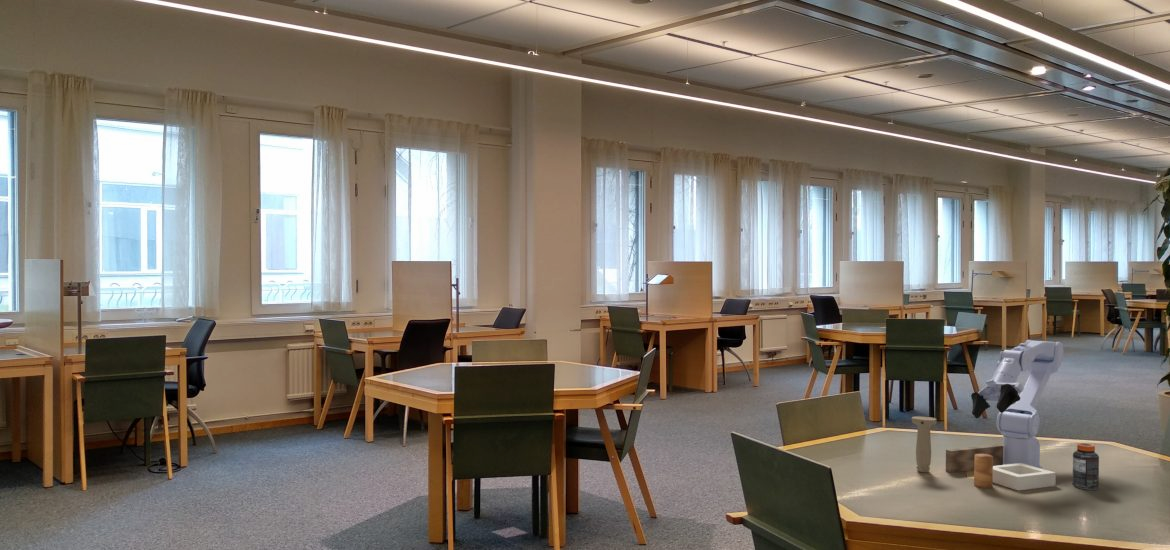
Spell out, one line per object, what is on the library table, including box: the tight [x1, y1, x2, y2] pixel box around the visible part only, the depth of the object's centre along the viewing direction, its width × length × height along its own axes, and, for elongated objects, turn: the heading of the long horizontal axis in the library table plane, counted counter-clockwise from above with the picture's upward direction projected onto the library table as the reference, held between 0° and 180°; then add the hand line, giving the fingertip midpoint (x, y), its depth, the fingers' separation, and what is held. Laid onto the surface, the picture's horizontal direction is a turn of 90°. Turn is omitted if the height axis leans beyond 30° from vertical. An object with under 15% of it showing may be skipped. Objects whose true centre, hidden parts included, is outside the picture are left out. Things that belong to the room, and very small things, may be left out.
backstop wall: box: [945, 444, 1003, 473], centre depth 243 cm, size 19×2×6 cm, turn 110°
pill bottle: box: [1072, 442, 1100, 491], centre depth 224 cm, size 6×6×11 cm
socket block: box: [993, 463, 1057, 491], centre depth 229 cm, size 13×11×4 cm
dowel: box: [973, 454, 994, 489], centre depth 225 cm, size 4×4×8 cm
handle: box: [911, 415, 937, 474], centre depth 240 cm, size 5×6×15 cm
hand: (987, 412), depth 228 cm, fingers open, 7 cm apart
